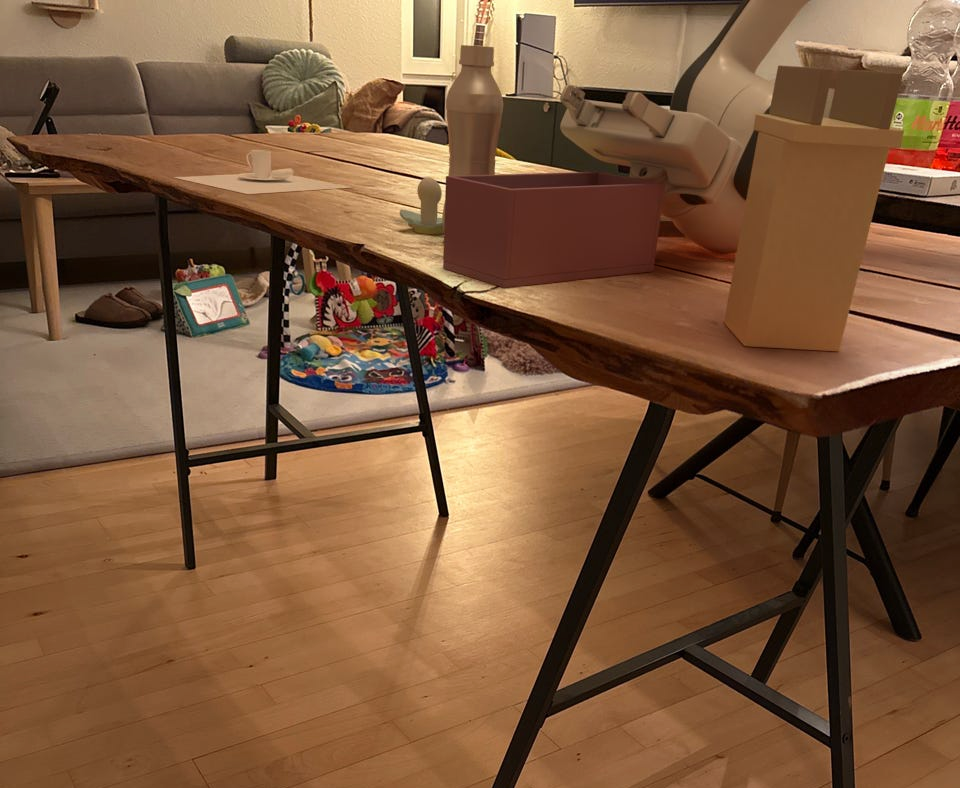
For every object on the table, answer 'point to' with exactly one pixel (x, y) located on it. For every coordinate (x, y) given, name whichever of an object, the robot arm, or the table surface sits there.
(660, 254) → the table surface
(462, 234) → the open storage box
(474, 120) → the plastic bottle
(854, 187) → the tan trash bin
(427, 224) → the pacifier
